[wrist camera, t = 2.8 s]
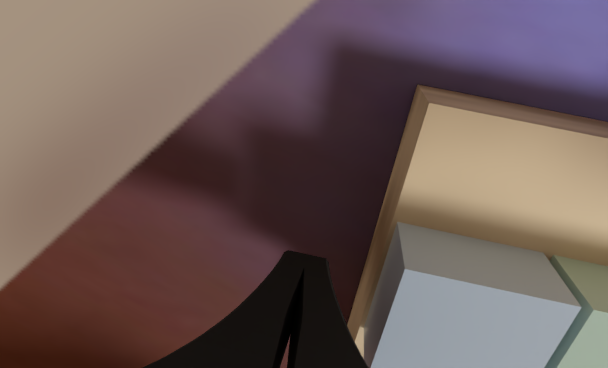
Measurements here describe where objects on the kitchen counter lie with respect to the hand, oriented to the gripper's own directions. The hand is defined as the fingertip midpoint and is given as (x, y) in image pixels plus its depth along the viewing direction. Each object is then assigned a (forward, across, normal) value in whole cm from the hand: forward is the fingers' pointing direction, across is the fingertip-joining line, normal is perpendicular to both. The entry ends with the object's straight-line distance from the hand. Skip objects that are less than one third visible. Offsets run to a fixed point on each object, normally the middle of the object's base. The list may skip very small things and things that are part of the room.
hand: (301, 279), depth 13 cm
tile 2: (+1, -5, 0) cm, 5 cm away
